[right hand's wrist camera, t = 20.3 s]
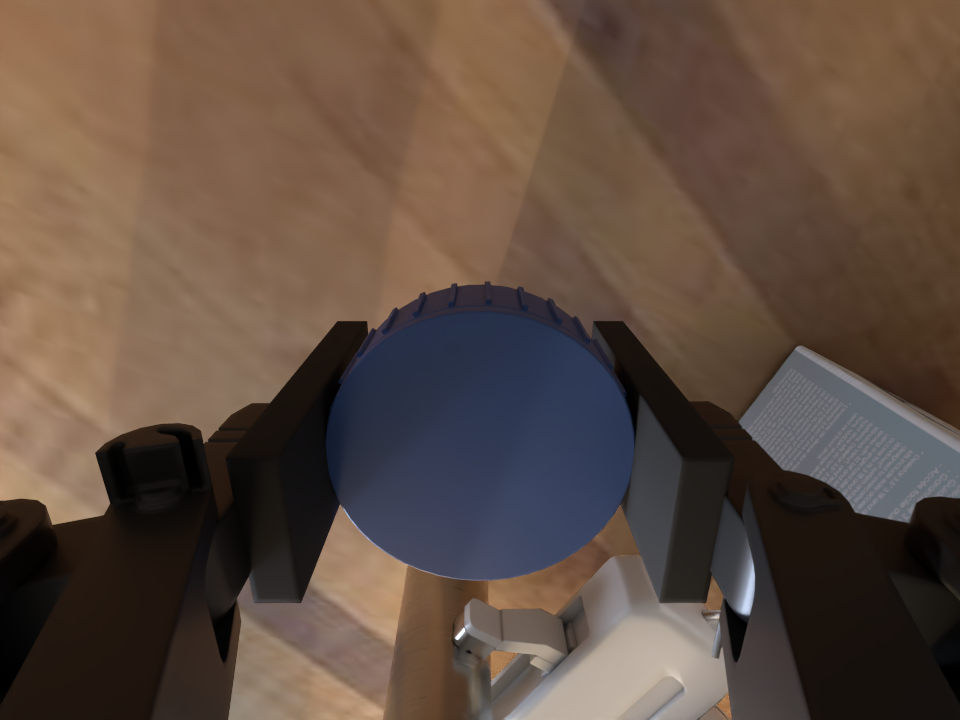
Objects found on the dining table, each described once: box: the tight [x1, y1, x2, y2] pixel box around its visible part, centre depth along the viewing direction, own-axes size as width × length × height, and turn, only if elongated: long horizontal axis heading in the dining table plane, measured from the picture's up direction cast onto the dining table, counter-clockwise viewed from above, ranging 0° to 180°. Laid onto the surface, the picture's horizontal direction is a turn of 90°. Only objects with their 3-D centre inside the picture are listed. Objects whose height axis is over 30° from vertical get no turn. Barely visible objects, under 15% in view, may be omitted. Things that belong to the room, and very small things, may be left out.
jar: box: [383, 565, 492, 720], centre depth 24 cm, size 5×5×18 cm
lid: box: [325, 281, 635, 581], centre depth 11 cm, size 6×6×2 cm
